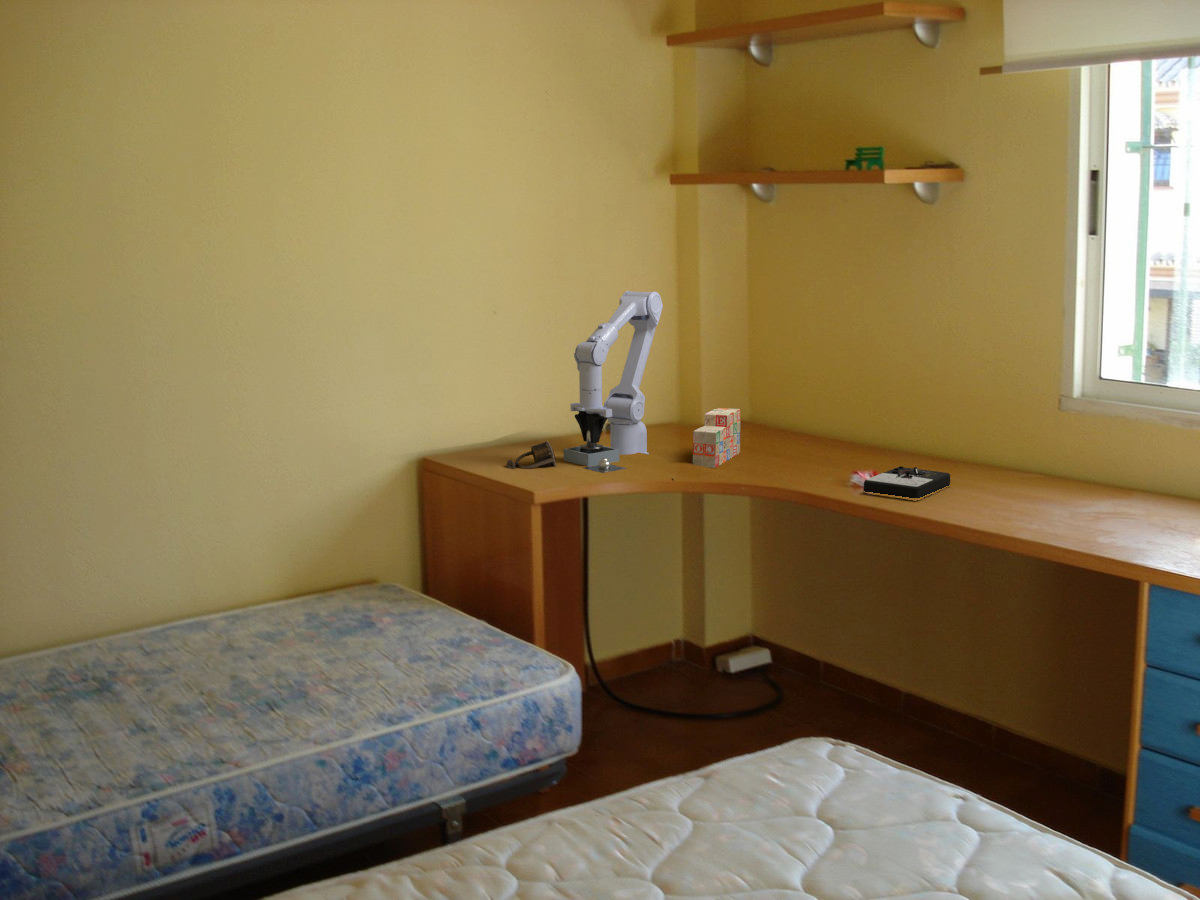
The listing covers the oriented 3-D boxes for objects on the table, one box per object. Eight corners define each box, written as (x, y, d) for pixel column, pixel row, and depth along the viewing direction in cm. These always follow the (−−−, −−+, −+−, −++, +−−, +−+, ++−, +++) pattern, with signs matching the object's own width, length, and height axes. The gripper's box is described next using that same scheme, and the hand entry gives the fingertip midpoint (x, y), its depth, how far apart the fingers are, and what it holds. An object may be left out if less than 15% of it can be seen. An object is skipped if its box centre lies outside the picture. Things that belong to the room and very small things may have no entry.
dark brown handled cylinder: (555, 453, 304) (561, 437, 313) (504, 448, 305) (512, 432, 314) (554, 479, 307) (560, 463, 316) (503, 474, 308) (511, 458, 317)
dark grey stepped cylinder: (576, 459, 317) (576, 429, 316) (596, 457, 320) (596, 427, 319) (587, 463, 312) (586, 433, 311) (607, 460, 315) (606, 431, 314)
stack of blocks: (715, 468, 310) (716, 420, 308) (692, 466, 313) (692, 419, 311) (740, 453, 330) (740, 408, 327) (717, 452, 332) (718, 406, 330)
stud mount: (606, 467, 312) (606, 453, 312) (627, 472, 306) (627, 458, 306) (582, 471, 307) (581, 457, 307) (602, 476, 301) (602, 462, 301)
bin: (594, 458, 323) (594, 443, 323) (619, 464, 316) (619, 449, 315) (563, 464, 317) (563, 448, 316) (588, 470, 309) (588, 454, 309)
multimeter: (950, 488, 288) (951, 467, 287) (916, 503, 273) (917, 481, 272) (898, 481, 296) (899, 460, 295) (862, 495, 281) (863, 474, 280)
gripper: (560, 387, 316) (561, 439, 318) (596, 393, 305) (597, 447, 307) (582, 385, 320) (582, 436, 323) (618, 391, 309) (618, 444, 312)
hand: (591, 441), depth 315 cm, fingers closed on dark grey stepped cylinder, 2 cm apart
